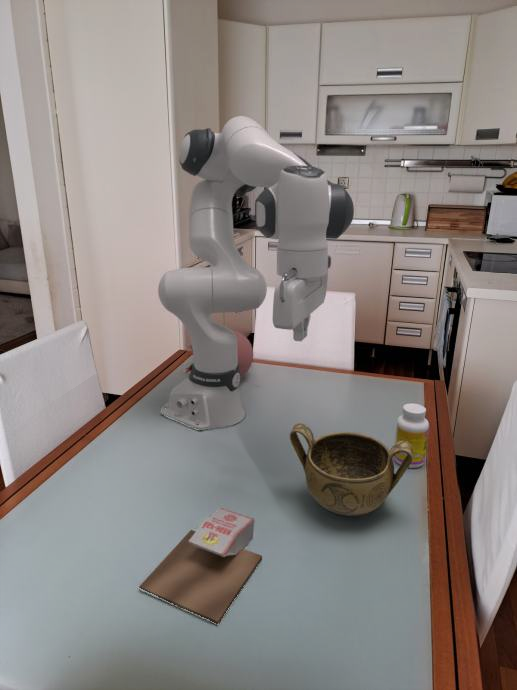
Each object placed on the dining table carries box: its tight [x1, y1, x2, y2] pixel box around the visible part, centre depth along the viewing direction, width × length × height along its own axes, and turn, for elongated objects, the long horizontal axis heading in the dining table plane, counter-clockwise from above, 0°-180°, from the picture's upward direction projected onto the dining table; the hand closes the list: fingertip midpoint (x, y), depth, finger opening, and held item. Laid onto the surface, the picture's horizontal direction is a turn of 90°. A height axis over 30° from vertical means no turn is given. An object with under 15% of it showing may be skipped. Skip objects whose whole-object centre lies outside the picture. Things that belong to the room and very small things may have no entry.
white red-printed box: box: [189, 507, 255, 557], centre depth 83 cm, size 4×7×10 cm
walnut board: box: [139, 529, 263, 624], centre depth 78 cm, size 14×14×1 cm
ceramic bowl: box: [289, 422, 413, 517], centre depth 93 cm, size 22×17×15 cm
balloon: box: [189, 329, 254, 378], centre depth 151 cm, size 15×20×15 cm
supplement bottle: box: [393, 402, 430, 469], centre depth 106 cm, size 7×7×13 cm
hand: (300, 338), depth 91 cm, fingers closed
